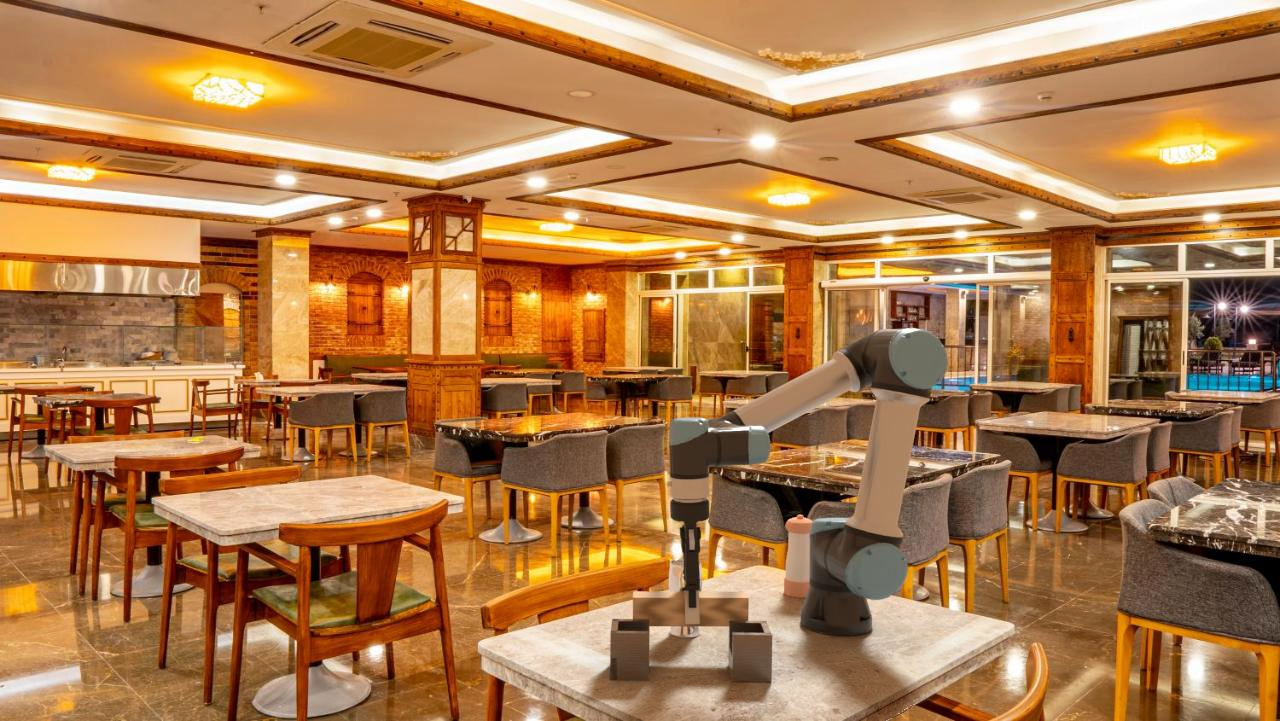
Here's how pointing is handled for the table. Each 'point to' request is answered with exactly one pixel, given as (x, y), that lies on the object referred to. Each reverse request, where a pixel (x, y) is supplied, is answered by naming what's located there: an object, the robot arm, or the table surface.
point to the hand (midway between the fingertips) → (691, 619)
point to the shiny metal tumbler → (676, 586)
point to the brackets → (745, 650)
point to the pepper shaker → (798, 557)
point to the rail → (672, 608)
